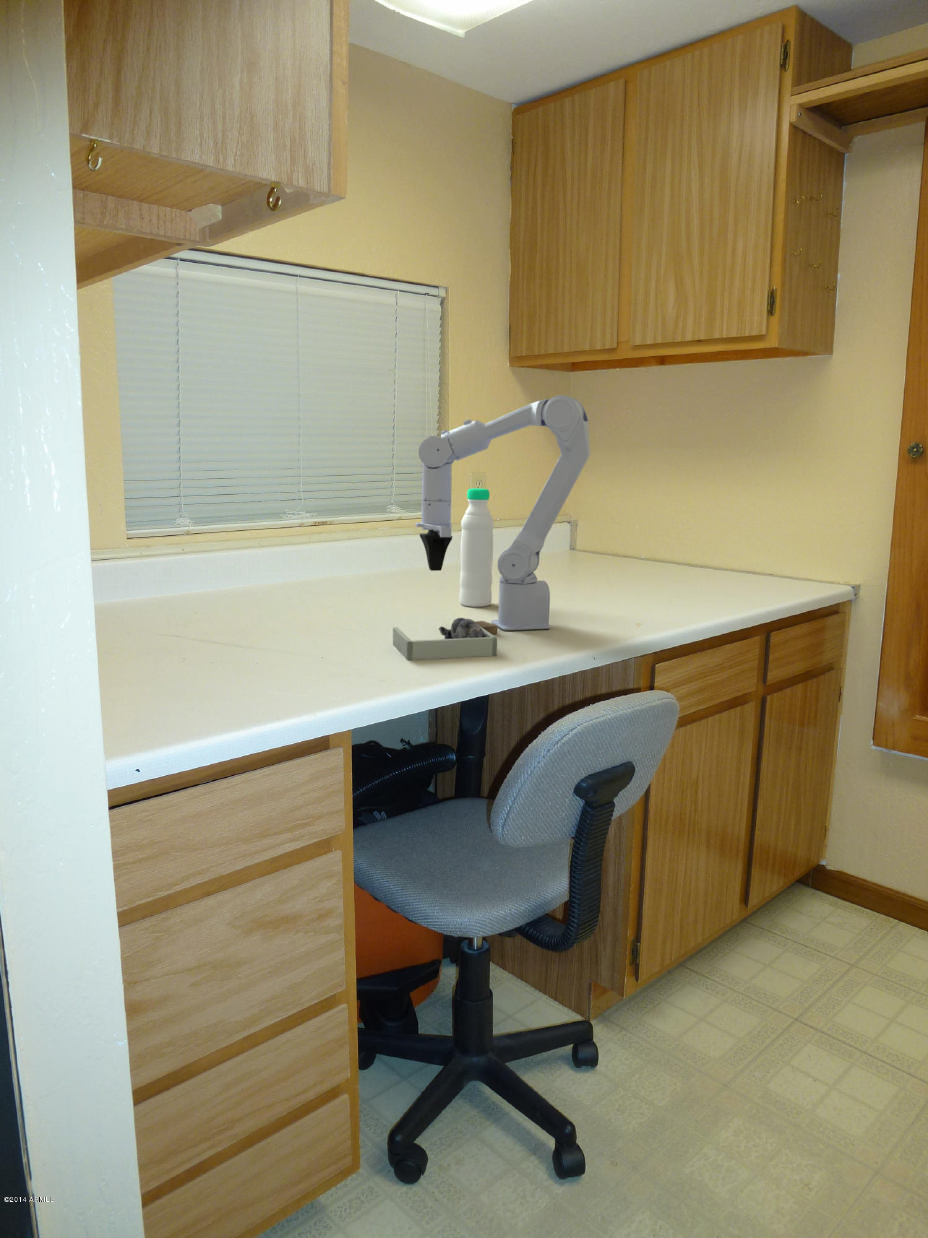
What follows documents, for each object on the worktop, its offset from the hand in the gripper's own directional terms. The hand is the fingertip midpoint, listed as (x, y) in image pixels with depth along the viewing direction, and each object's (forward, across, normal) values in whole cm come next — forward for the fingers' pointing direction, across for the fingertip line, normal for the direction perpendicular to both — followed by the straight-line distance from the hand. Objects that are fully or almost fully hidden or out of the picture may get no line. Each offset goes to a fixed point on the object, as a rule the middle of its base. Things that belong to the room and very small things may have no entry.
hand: (435, 570), depth 169 cm
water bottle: (+10, -14, +13) cm, 22 cm away
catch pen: (+10, +24, -5) cm, 27 cm away
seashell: (+8, +19, -3) cm, 20 cm away
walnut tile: (+10, +13, +5) cm, 17 cm away
